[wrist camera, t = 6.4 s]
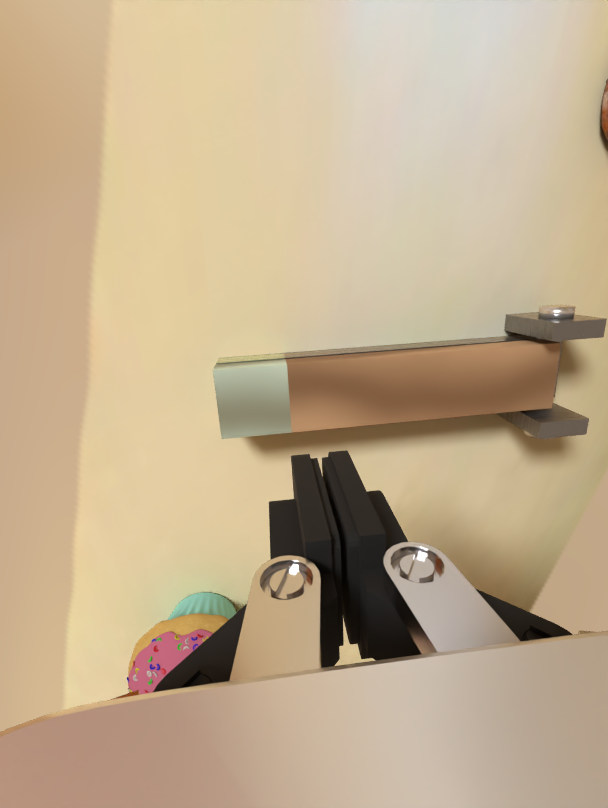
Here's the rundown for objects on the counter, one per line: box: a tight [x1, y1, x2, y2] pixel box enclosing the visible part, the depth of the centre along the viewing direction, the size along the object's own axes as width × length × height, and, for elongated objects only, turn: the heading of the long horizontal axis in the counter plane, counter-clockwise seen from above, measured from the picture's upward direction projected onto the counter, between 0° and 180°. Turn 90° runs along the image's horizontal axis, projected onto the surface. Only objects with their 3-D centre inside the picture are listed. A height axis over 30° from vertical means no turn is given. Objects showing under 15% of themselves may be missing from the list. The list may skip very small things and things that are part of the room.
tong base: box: [216, 305, 607, 439], centre depth 24 cm, size 8×22×4 cm, turn 93°
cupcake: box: [127, 592, 236, 695], centre depth 25 cm, size 9×8×12 cm
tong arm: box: [213, 339, 561, 439], centre depth 24 cm, size 4×20×2 cm, turn 93°
